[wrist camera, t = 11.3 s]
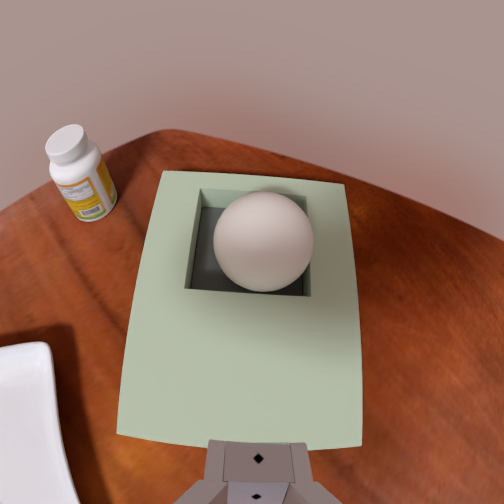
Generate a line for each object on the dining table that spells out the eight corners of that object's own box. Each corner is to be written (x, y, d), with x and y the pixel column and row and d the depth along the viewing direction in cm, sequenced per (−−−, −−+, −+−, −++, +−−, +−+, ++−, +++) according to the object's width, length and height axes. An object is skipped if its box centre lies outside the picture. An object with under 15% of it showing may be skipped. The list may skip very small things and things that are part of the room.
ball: (337, 280, 26) (263, 291, 31) (321, 187, 27) (251, 210, 32) (282, 291, 20) (199, 301, 25) (263, 169, 21) (187, 203, 26)
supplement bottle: (96, 177, 33) (69, 113, 25) (127, 194, 32) (103, 126, 24) (65, 210, 31) (28, 150, 22) (95, 231, 30) (58, 168, 21)
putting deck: (336, 202, 33) (343, 184, 31) (348, 442, 22) (361, 445, 19) (167, 189, 33) (163, 170, 30) (128, 431, 21) (116, 433, 19)
